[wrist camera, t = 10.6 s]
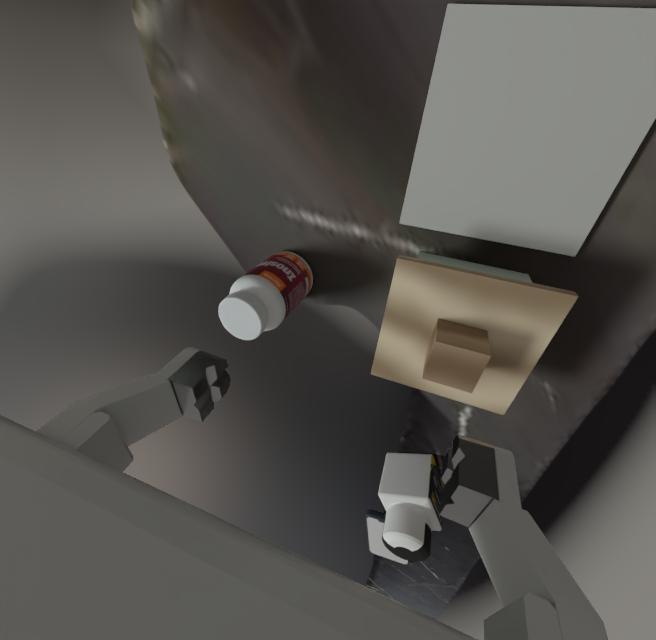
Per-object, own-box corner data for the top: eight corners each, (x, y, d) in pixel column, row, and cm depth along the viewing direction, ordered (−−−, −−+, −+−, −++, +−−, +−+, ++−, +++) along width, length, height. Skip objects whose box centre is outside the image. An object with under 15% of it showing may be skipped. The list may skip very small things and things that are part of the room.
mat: (448, 6, 21) (447, 3, 21) (711, 12, 18) (718, 9, 17) (400, 221, 30) (399, 223, 29) (573, 254, 26) (575, 256, 26)
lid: (398, 254, 25) (389, 274, 22) (575, 291, 22) (596, 322, 19) (372, 369, 33) (362, 397, 29) (502, 408, 30) (508, 445, 26)
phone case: (410, 558, 65) (412, 519, 56) (409, 567, 63) (411, 528, 55) (369, 544, 68) (365, 505, 59) (367, 552, 66) (363, 514, 58)
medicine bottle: (443, 483, 48) (440, 573, 38) (399, 480, 51) (385, 562, 42) (432, 452, 45) (426, 541, 35) (386, 451, 48) (369, 531, 39)
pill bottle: (315, 254, 35) (268, 298, 26) (313, 301, 38) (271, 354, 30) (267, 244, 36) (206, 283, 28) (269, 290, 40) (216, 338, 31)
